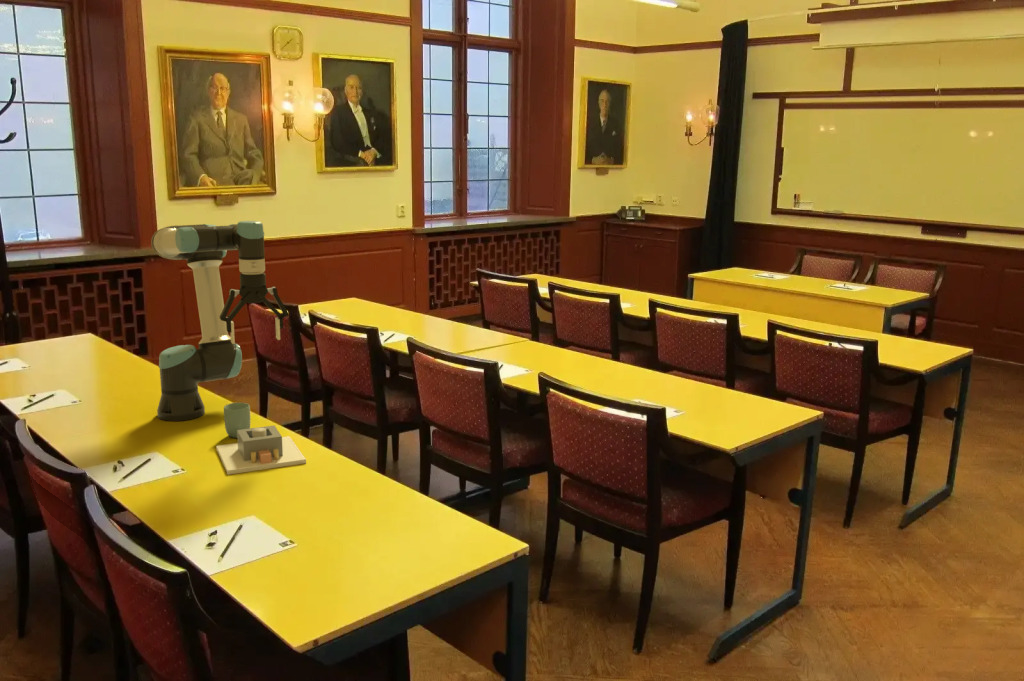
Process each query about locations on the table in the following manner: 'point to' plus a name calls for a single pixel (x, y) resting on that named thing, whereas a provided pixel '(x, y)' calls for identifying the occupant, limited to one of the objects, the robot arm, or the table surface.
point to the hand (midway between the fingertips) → (255, 341)
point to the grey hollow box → (259, 444)
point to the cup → (236, 418)
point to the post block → (238, 465)
